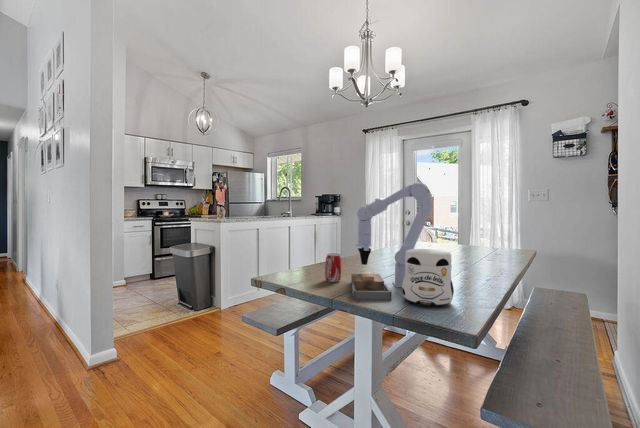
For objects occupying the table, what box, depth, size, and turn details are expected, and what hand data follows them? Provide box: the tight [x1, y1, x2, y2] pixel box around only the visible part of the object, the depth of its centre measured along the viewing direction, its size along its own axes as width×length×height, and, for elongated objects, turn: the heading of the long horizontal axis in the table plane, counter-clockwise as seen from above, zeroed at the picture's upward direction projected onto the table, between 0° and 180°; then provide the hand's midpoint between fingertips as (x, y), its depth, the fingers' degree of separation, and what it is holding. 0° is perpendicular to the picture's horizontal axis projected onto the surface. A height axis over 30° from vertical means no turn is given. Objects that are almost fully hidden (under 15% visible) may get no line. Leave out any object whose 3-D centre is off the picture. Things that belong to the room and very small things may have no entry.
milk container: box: [401, 248, 454, 308], centre depth 115 cm, size 17×17×18 cm
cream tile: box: [359, 270, 373, 277], centre depth 137 cm, size 4×4×2 cm
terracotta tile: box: [362, 273, 374, 280], centre depth 132 cm, size 4×4×2 cm
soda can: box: [324, 252, 342, 283], centre depth 144 cm, size 7×7×12 cm
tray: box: [351, 283, 393, 301], centre depth 123 cm, size 14×11×3 cm
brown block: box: [350, 273, 385, 291], centre depth 135 cm, size 12×13×4 cm
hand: (364, 264), depth 145 cm, fingers closed
